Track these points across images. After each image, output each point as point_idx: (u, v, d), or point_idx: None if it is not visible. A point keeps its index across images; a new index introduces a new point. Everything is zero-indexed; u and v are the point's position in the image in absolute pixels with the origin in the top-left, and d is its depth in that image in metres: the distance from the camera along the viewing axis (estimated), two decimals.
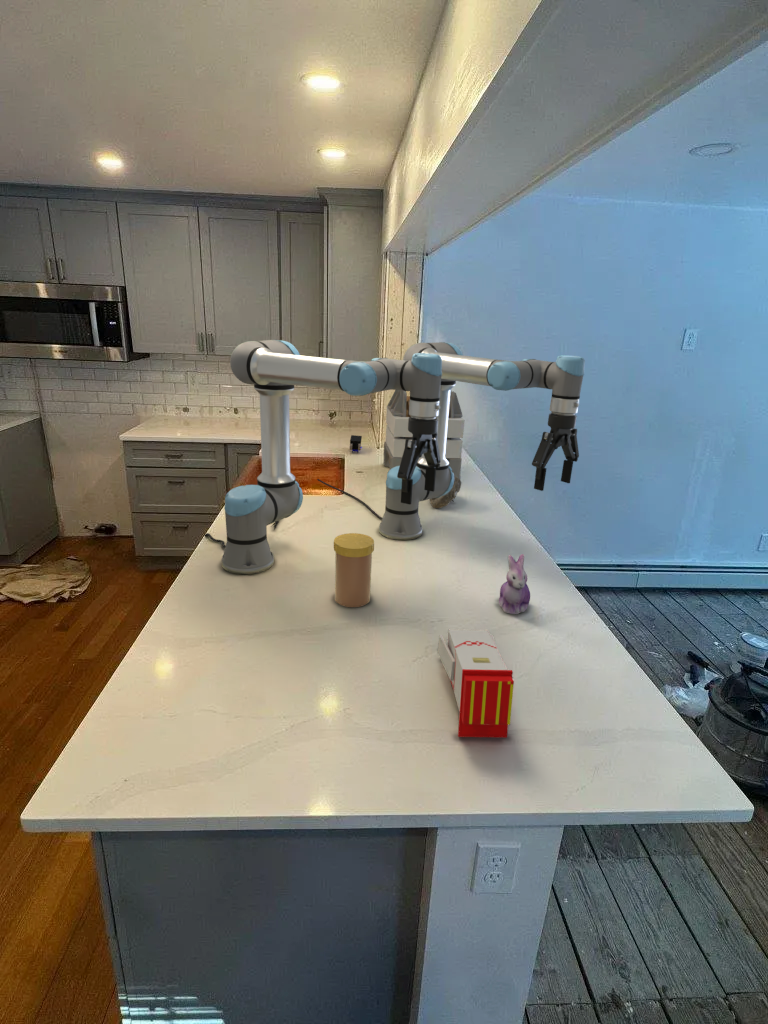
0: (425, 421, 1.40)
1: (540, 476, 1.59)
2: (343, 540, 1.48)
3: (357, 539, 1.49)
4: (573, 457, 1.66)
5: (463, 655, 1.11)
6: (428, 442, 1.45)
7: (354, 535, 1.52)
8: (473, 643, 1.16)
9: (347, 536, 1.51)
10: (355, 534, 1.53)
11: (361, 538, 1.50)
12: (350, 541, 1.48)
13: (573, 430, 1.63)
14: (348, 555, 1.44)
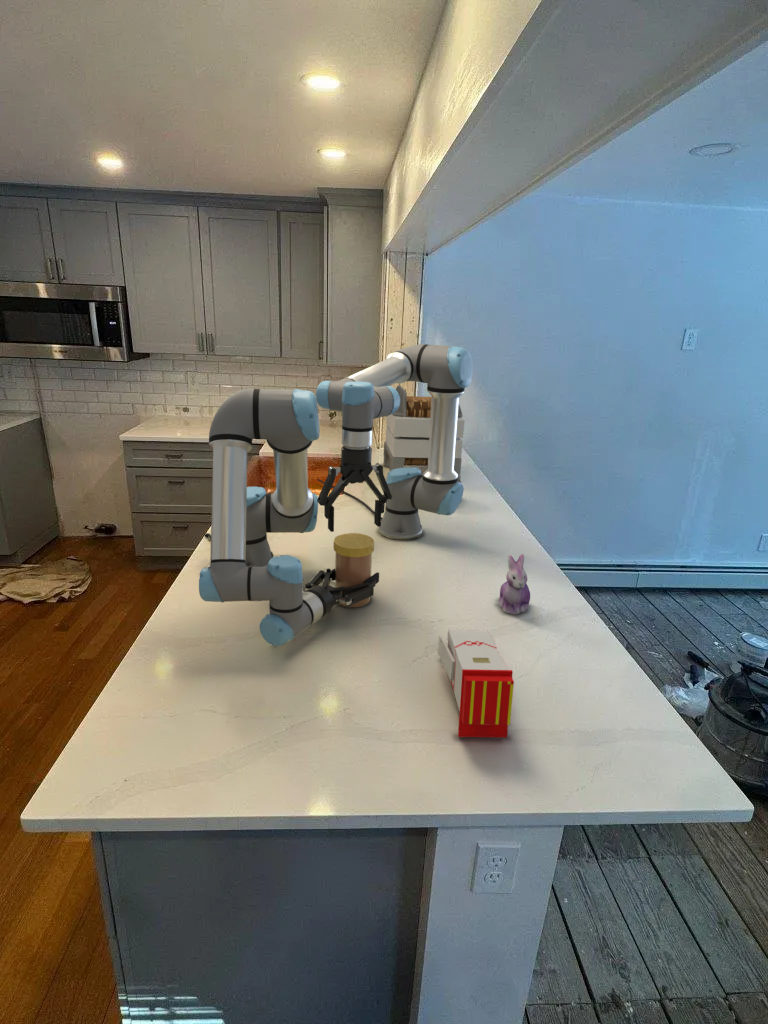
0: None
1: None
2: (343, 540, 1.48)
3: (357, 539, 1.49)
4: None
5: (463, 655, 1.11)
6: None
7: (354, 535, 1.52)
8: (473, 643, 1.16)
9: (347, 536, 1.51)
10: (355, 534, 1.53)
11: (361, 538, 1.50)
12: (350, 541, 1.48)
13: None
14: (348, 555, 1.44)
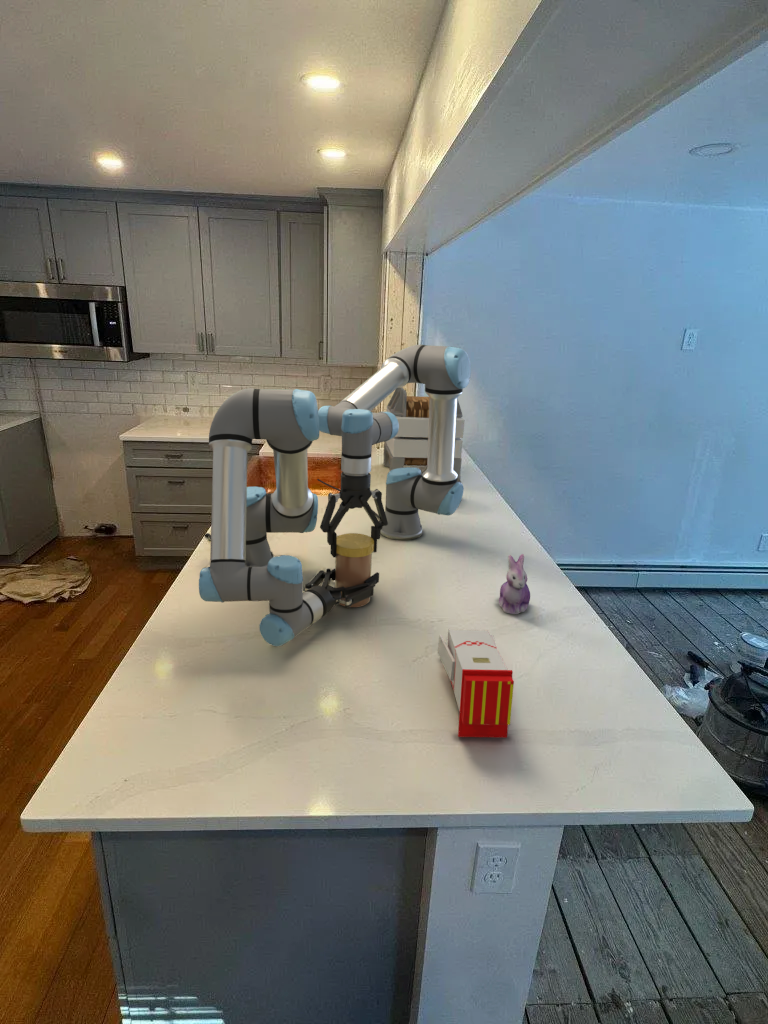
0: None
1: None
2: (343, 540, 1.48)
3: (357, 539, 1.49)
4: None
5: (463, 655, 1.11)
6: None
7: (354, 535, 1.52)
8: (473, 643, 1.16)
9: (347, 536, 1.51)
10: (355, 534, 1.53)
11: (361, 538, 1.50)
12: (350, 541, 1.48)
13: None
14: (348, 555, 1.44)
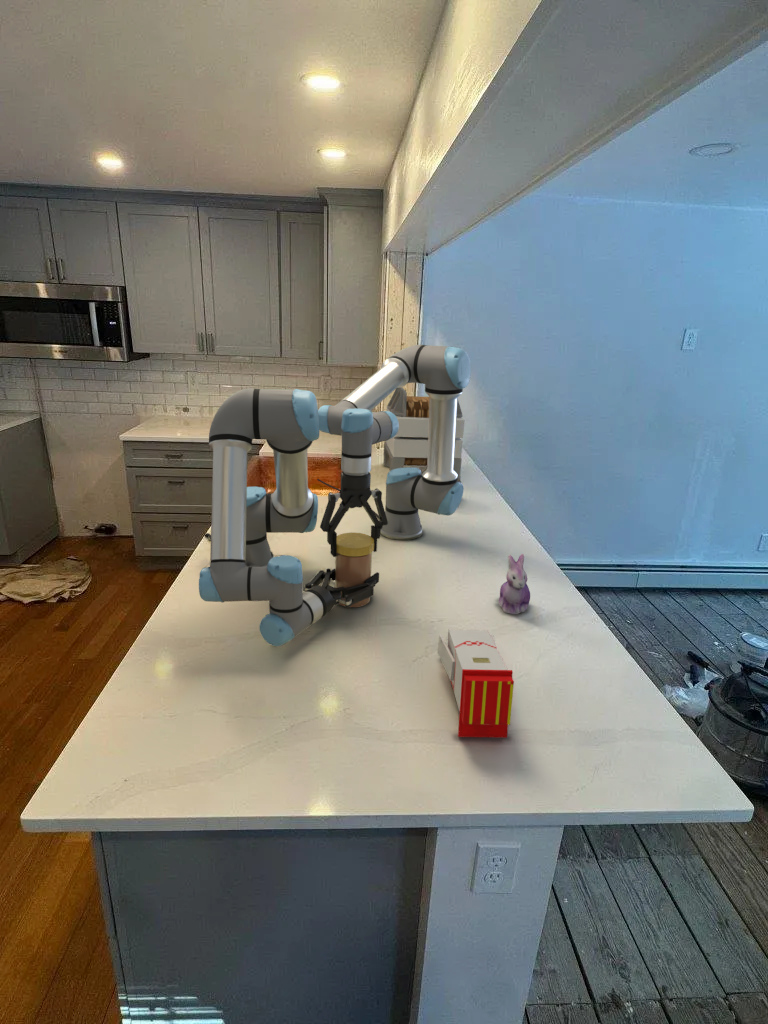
0: None
1: None
2: (352, 544, 1.46)
3: (351, 538, 1.49)
4: None
5: (463, 655, 1.11)
6: None
7: (339, 538, 1.49)
8: (473, 643, 1.16)
9: (342, 541, 1.47)
10: (338, 538, 1.49)
11: (349, 536, 1.50)
12: (355, 541, 1.48)
13: None
14: (372, 550, 1.47)
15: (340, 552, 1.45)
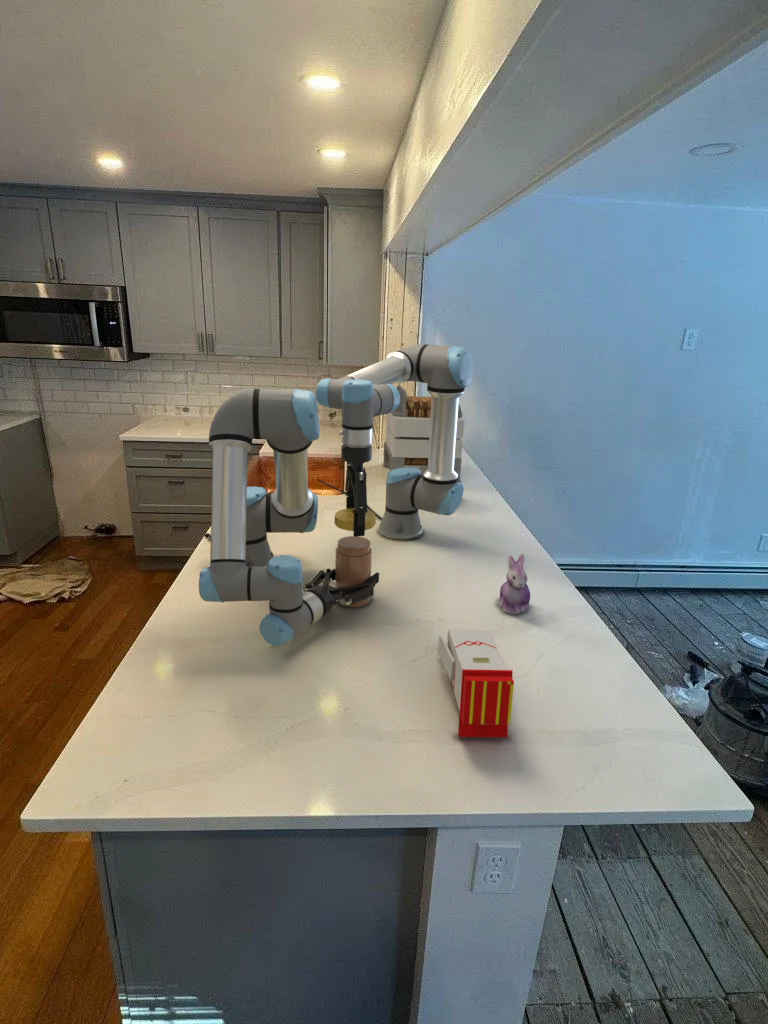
0: None
1: None
2: (365, 516, 1.46)
3: (350, 515, 1.46)
4: (355, 507, 1.39)
5: (463, 655, 1.11)
6: None
7: (350, 519, 1.43)
8: (473, 643, 1.16)
9: None
10: (348, 520, 1.42)
11: (346, 516, 1.45)
12: None
13: None
14: None
15: (368, 527, 1.43)
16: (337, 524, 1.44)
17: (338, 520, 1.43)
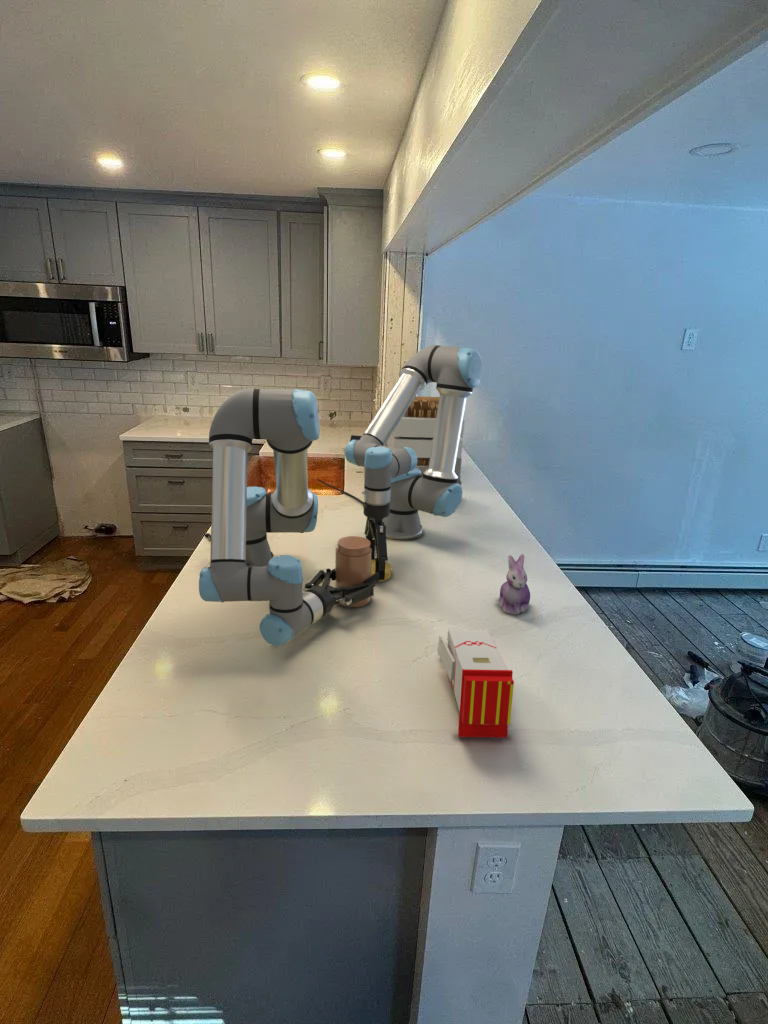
0: None
1: None
2: None
3: None
4: (376, 555, 1.59)
5: (463, 655, 1.11)
6: None
7: None
8: (473, 643, 1.16)
9: None
10: None
11: None
12: None
13: None
14: None
15: (385, 578, 1.65)
16: None
17: None
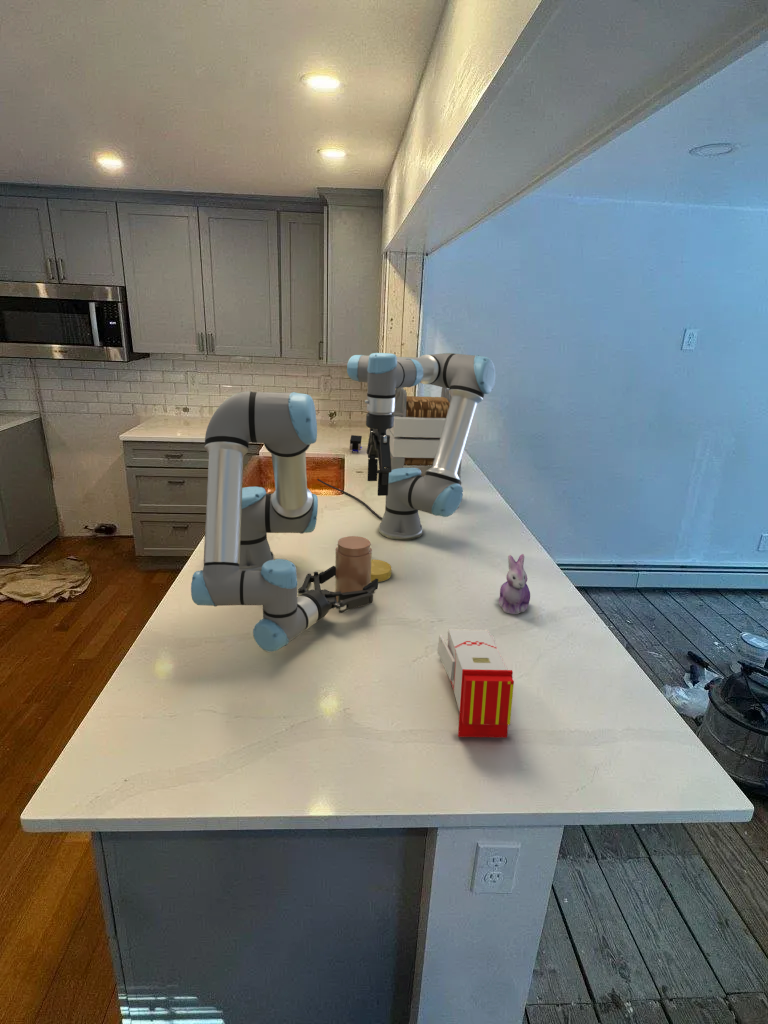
0: None
1: None
2: (382, 568, 1.68)
3: None
4: (379, 467, 1.51)
5: (463, 655, 1.11)
6: None
7: None
8: (473, 643, 1.16)
9: (376, 571, 1.65)
10: None
11: None
12: (377, 566, 1.68)
13: None
14: None
15: (385, 578, 1.65)
16: None
17: None
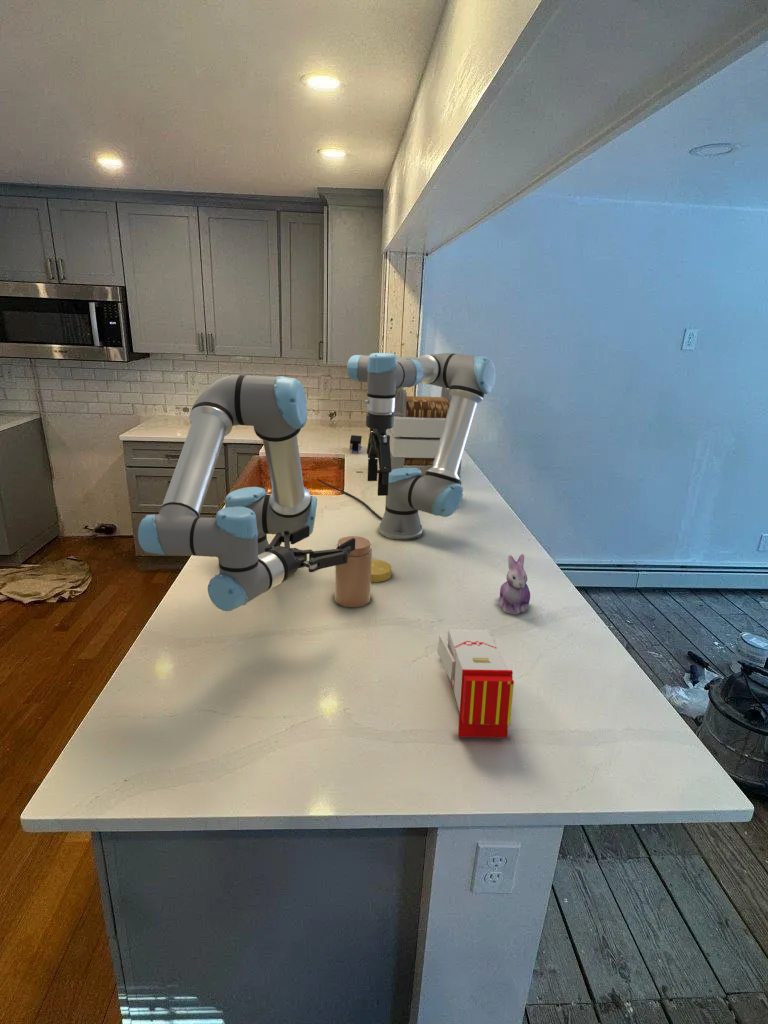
0: None
1: None
2: (382, 568, 1.68)
3: None
4: (379, 467, 1.51)
5: (463, 655, 1.11)
6: None
7: None
8: (473, 643, 1.16)
9: (376, 571, 1.65)
10: None
11: None
12: (377, 566, 1.68)
13: None
14: None
15: (385, 578, 1.65)
16: None
17: None
